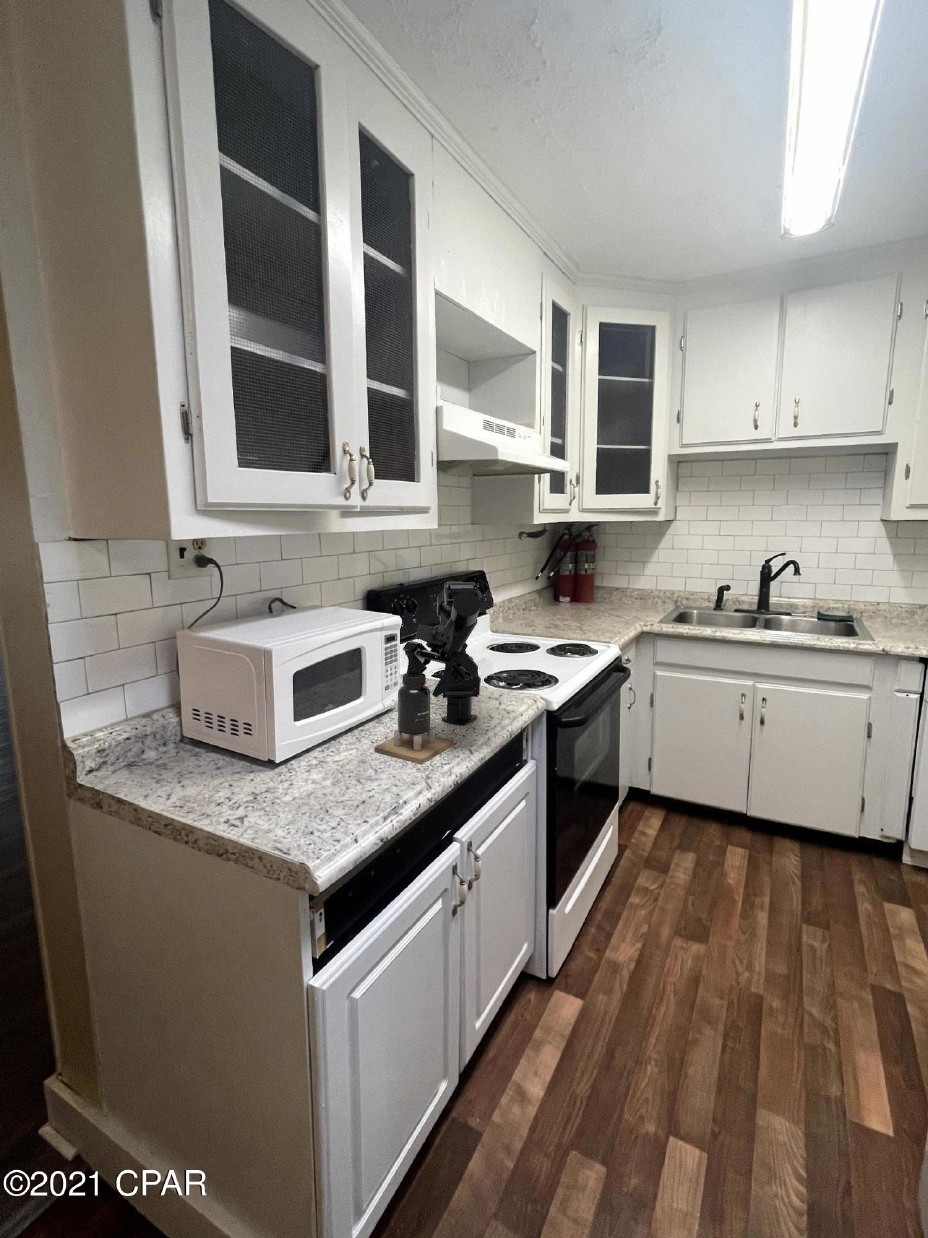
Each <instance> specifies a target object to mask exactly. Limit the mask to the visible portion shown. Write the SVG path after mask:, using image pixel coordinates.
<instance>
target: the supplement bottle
mask: <svg viewBox="0 0 928 1238" xmlns="http://www.w3.org/2000/svg"><path fill="white" fill-rule="evenodd" d="M426 683H427V679H426V674H425V673H424V672H423V673H419V672H410V673H407V672H406V673H403V674H402V686H401V687H400V688H399V689H398V690H397V730H399V731H400V732H402V733H404V734H409V735H417V734H423V733H425V734H427V731H428V730H429V729H430V727H431V690H430V688H429V687H428V686H426V685H427V684H426Z"/></svg>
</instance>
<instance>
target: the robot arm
mask: <svg viewBox="0 0 928 1238" xmlns="http://www.w3.org/2000/svg"><path fill="white" fill-rule="evenodd" d="M436 598H437V599H436V600H437V601H436V616H437V617H439V623H440V625H439V626H438V627H434V626H431V625H426V624H421V623H420V624H419V625H418V628H417V630H416V631H417V632H416V635H415V637H414V638H415V640H421V641H423V642H426V643H425V645H424V644H423V643H422V642H418V641H413V640H409V641H406V643H405V644H404V646H403V647H402V650H403V652H404V654H405V656H406V658H407V661H408V662H407V663H408V664H407V667H406V668H407V670H406V673H410V672H419V673H424V672H425V671H426V670H427V669H428V667H427V666H428V665H429V664H431V662H436V663H439V664H444V665H445V666H444V672H442V675H441V677H440V679H439V680H438V682H437V684H436V686H435V688H434V690H433V693H432V696H433V697H434V698H437V697H439V696H440V695H442V699H445V698H446V715H445V716H443V717H442V718H441V721H443V722H447V723H453V724H457V725H461V726H466V724H469V723H470V722H472V721H474V720H475V719H477V718H478V716H477V715H475V714H472V713H473V712H472V710H473V709H472V706H473V705H472V701H473V700H472V699H473V698H478V697H479V696H480V694H481V692H480V691H481V690H480V689H481V680H482V678H481V676H480V674H479V665H478V664H477V663H476V662H475V660H474V657H473V656H470V655H469V653H467V648H468V646H469V645H468V643H467V641H468V639H469V637H470V635H471V634H472V632H474V629H475V628H476V626H477V624H478V616H479V613H480V609H481V604H483V600H484V599H483V596H482V593H481V591H480V590H479V587H478V586H477V587H476V583H475V582H473V581H471V582H468V581H467V582H465V581H460V580H459V581H452V580H451V581H447V582H444V588H443V590H441V592H440V593H439V594H437V597H436ZM426 647H427V648H426ZM428 648H429V649H430V650H428Z"/></svg>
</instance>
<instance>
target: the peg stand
mask: <svg viewBox="0 0 928 1238" xmlns="http://www.w3.org/2000/svg"><path fill="white" fill-rule="evenodd" d="M454 742H455V741H454V739H450V738H447V737H443V736H439V735H438V736H437V735H436V730H435V727H431V726H430V729H429V730H428V731H427V732H426V733H423V734H417V735H409V734H404V733H402V732H400V731H399V729H396V730H394V731H393V737H391V738H390V739H388V740H385V741H384V742H382V743H380V744H378V745H376V746H374V752H375V753H379V754H382V755H385V756H389V757H393V758H396V759H401V760H404V761H408V762H412V763H415V762H416V763H415V764H420V765H423V764H425V763H426V762H428V761H429V759H430V760H431V759H432V758H434V757H436V756H438V755H439V754H441V753H442V752H444V751H445V749H446V750H447V749H449V748H450V747H453V746H454V744H455V743H454ZM437 754H438V755H437ZM424 762H425V763H424Z"/></svg>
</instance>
